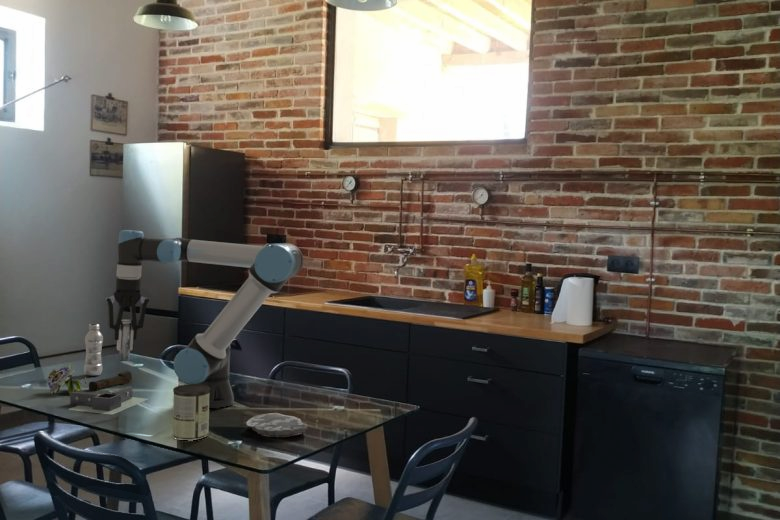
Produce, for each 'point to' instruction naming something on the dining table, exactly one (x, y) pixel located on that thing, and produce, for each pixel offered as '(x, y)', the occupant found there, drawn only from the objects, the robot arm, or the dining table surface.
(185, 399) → the coffee can
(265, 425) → the brain slice
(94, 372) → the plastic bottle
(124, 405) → the mat
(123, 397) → the bolted dark bar
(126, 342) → the hinge pin
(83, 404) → the hinge base
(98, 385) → the hand tool
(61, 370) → the passion flower
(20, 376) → the dining table surface
